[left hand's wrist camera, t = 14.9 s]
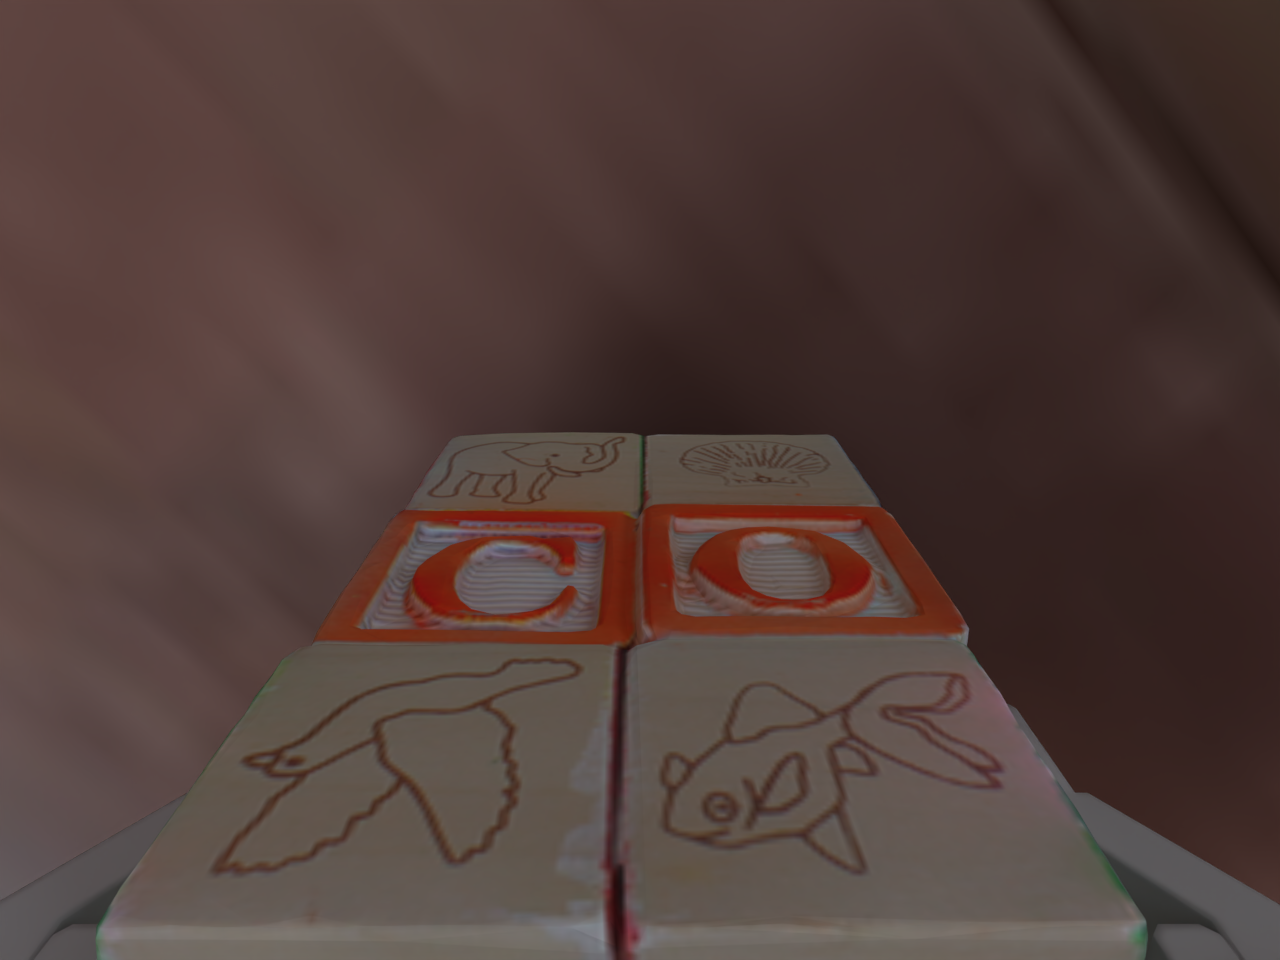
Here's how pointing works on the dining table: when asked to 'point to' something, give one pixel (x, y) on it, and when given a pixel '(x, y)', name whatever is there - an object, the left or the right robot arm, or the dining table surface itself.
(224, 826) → the stack of blocks
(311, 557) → the dining table surface
